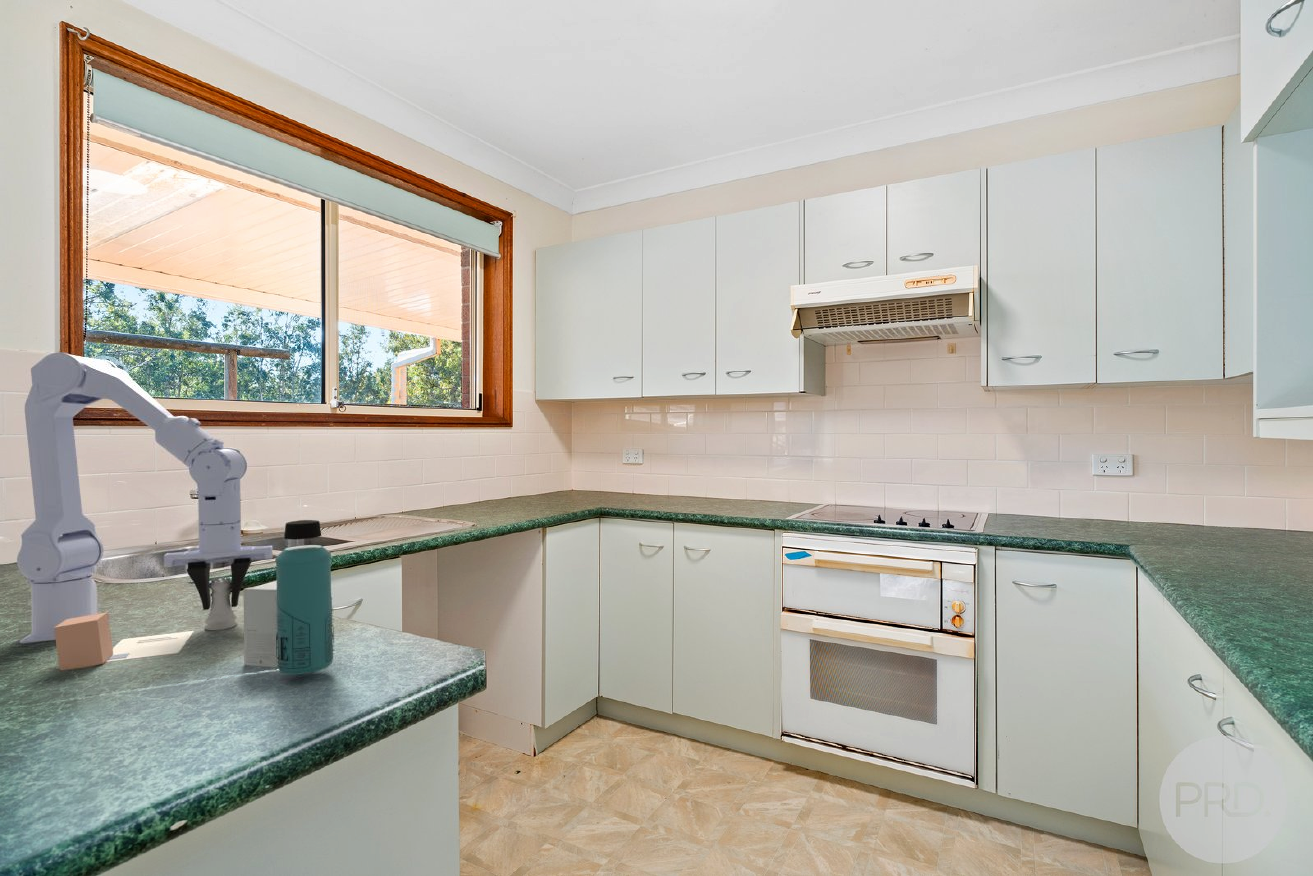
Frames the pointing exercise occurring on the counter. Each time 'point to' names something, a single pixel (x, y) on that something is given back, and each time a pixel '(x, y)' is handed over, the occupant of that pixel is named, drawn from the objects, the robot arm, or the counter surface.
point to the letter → (149, 646)
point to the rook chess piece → (220, 606)
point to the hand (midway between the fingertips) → (220, 607)
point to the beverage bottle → (304, 603)
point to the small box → (260, 625)
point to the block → (83, 641)
